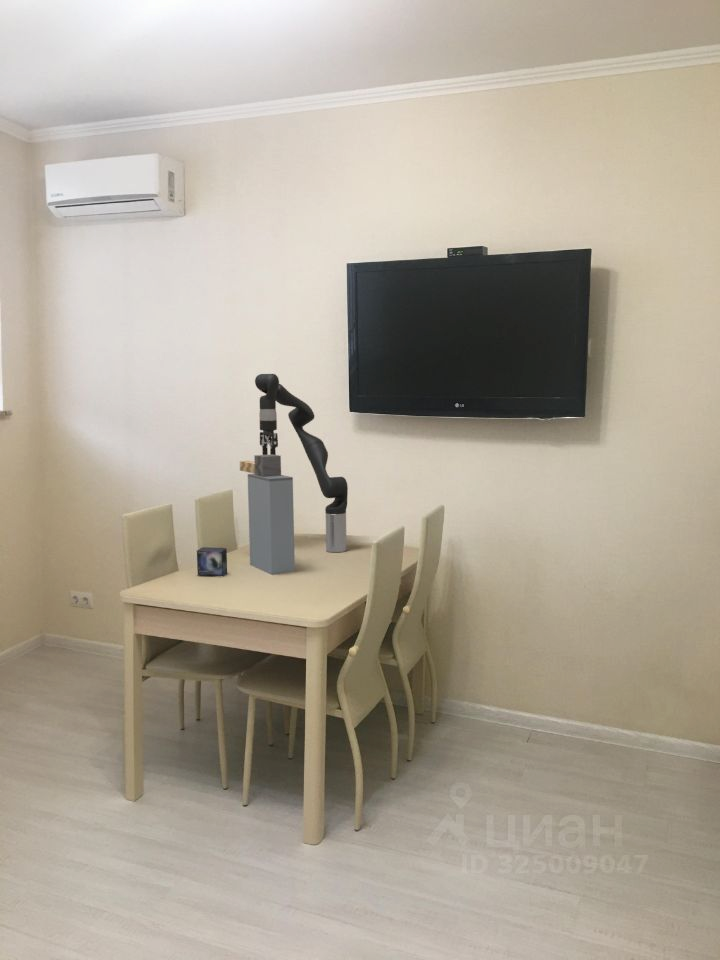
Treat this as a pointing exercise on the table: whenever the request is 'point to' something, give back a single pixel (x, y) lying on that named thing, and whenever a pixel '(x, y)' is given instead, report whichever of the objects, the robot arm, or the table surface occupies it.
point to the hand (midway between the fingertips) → (269, 456)
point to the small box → (212, 561)
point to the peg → (263, 465)
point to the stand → (271, 523)
